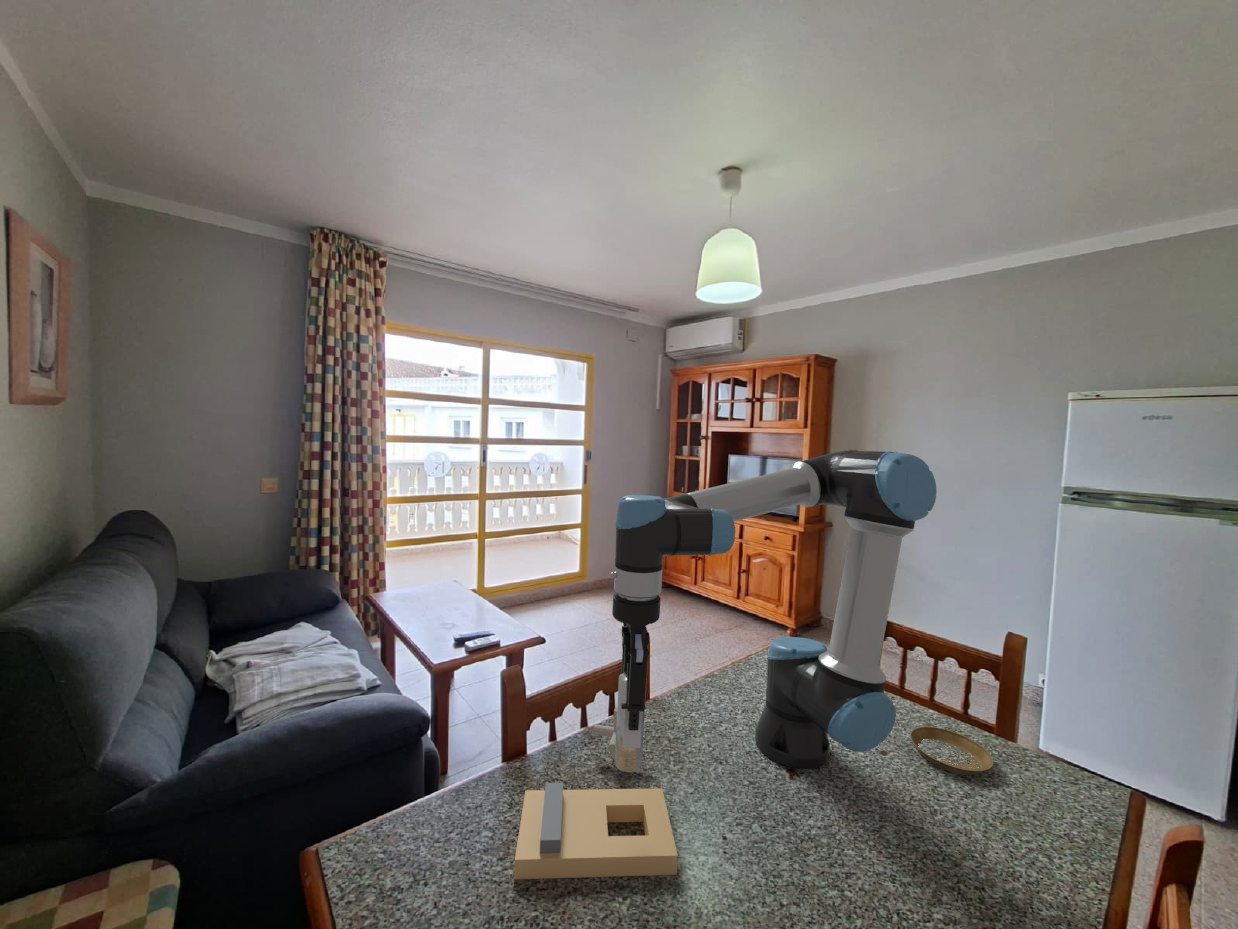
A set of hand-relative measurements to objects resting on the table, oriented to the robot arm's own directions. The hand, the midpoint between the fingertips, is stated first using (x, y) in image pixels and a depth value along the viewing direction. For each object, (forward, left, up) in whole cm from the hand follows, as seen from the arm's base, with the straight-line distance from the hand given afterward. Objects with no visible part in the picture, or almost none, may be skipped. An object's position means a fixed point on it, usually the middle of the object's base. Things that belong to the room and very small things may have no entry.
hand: (629, 736), depth 79 cm
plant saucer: (-71, -19, -18) cm, 76 cm away
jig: (+5, 0, -17) cm, 18 cm away
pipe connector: (0, -20, -17) cm, 26 cm away
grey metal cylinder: (0, 0, -4) cm, 4 cm away
